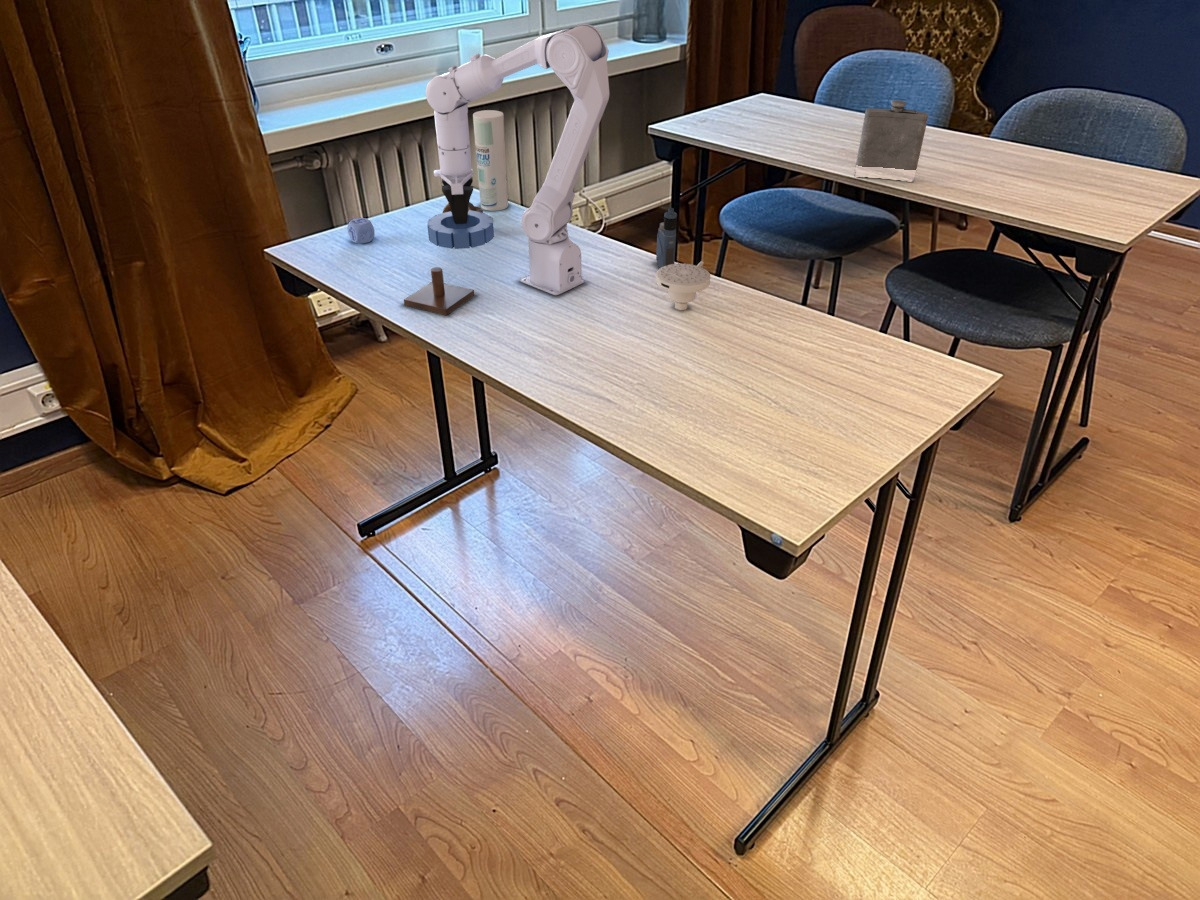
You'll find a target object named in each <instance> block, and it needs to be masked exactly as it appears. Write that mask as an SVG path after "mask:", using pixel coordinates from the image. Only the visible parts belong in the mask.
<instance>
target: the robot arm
mask: <svg viewBox="0 0 1200 900" xmlns="http://www.w3.org/2000/svg"><path fill="white" fill-rule="evenodd" d="M609 52H610V50H609V49H608V46H607V44H606V41H605V39H604V38H603V36H602V34H601V31H599V30H598V29H597V27H595V26H594V25H593V24H589V23H581V24H578V25H576V26H575V27H573V28H571V29H570V28H565V29H561V30H558V31H554V32H551V33H548V34H544V35H541V36H539V37H537V38H535V39H533V40H530V41H528V42H526V43H525V44H522V45H521V46H518V47H517V48H515V49H512V50H510V51H509V52H507V53H505V54H503V55H500V56H499V57H497V58H495V57H494V56H493V57H492V56H491V55H488V54H483V55H481V54H480V53H476V54H474V55H472V56H470V57H469V61H468V62H466V63H463V64H462V65H460V66H458V67H457V65H453V66H451V67H449V68H448V72H446V73H443V74H441V75H436V76H434V77H433V78H432V79H431V80H429V81H428V83H427V84H426V87H425V97H426V101H427V103H428V105H429V106H430V107H431V109H432V110H433V113H434V114H433V116H434V125H435V133H436V143H437V153H438V163H439V169H433V177H435V178H440V179H441V183H442V185H441V192H442V195H444V198H445V199H446V201H447V204H448V203H449V205H450V208H451V212H452V215H453V219H454V222H455V224H466V223H467V217H468V205H469V202H470V200H471V198H472V194H473V193H474V192H473V191H474V186H473V182H474V180H473V176H474V169H473V164H472V153H471V152H472V151H471V140H470V130H469V127H470V126H469V117H468V115H469V114H468V113H469V106H468V105H469V103H472V102H474V101H476V100H479V99H481V98H484V97H485V96H488V95H490V94H492V93H494V92H497V91H499V90H500V89H501V88H502V85H503V82H504V78H506V77H509V76H511V75H513V74H517V73H518V72H521V71H523V70H526V69H528V68H531V67H532V66H536V65H538V66H539V67H540V68H542V69H544V70H548V69H550V68H551V70H552V71H553V72H554V74H555V75H556V76H557V77H558V78H559V79H560V81H561V83H563V84H564V86H566V87H567V89H568V90H569V92H570V94H571V96H572V97H573V103H572V106H571V108H570V111H569V114H568V117H567V119H566V122H565V125H564V127H563V130H562V132H561V135H560V139H559V141H558V143H557V146H556V149H555V151H554V154H553V157H552V160H551V163H550V165H549V169H548V171H547V174H546V176H545V180H544V183H543V184H542V186H541V187H540V188H539V190H538V192H537V193H536V195H535V196H534V198H533V200H532V203H531V205H530V206H529V207H528V208H527V209H526V210H524V212H523V213H522V215H521V219H520V224H521V228H522V231H523V233H524V235H526V237H527V241H528V262H529V274H528V275H525V276H524V277H521V278H520V279H519V281H520V282H521V283H523V284H525V285H528V286H529V287H533V288H535V289H538V290H540V291H543V292H545V293H548V294H550V295H553V296H560V295H562V294H563V293H565V292H567V291H569V290H572V289H574V288H576V287H578V286H580V285H582V284H584V283H585V279H583V278H582V250H581V248H580V247H579V245H578V244H577V243H575V242H573V241H572V240H571V239H570V236H569V232H568V231H569V230H568V224H569V223H570V221H571V220H572V218H573V214H574V209H573V202H574V199H575V197H576V194H575V193H574V191H573V190H574V188H575V185H576V183H577V182H578V178H579V176H580V173H581V171H582V168H583V165H584V163H585V160H586V158H587V155H588V153H589V150H590V148H591V146H592V142H593V140H594V138H595V134H596V133H597V130H598V128H599V125H600V122H601V120H602V118H603V115H604V112H605V110H606V108H607V105H608V102H609V99H610V83H609V72H608V57H609Z"/></svg>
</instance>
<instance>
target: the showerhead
mask: <svg viewBox="0 0 1200 900" xmlns="http://www.w3.org/2000/svg"><path fill="white" fill-rule="evenodd" d="M704 264H705V262H704V261H702V260H700V262H698V264H697V265H696V264H692V263H691V264H690V263H679V262H677V263H674V264H671V265H667V266H664V267H662V268H660V267H659V269H657V270H656V271H655V282H656V284H657V285H658V287H660V288H661V289H663V290H666V291H667V297H668V299H669V300H670V301H672V302H674V308H675V310H679V311H684V310H687V309H688V304H689V303H691V302H693V301H694V300H695V299H696V296H697V293H698V292H701V291H704V290H706V289H707V288H708V287H709V286H710V284H711V273H710V272H709V271H708V270H707V269H706V268H704V267H702V266H704Z"/></svg>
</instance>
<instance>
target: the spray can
mask: <svg viewBox="0 0 1200 900" xmlns="http://www.w3.org/2000/svg"><path fill="white" fill-rule="evenodd" d="M472 121H473V122H472V123H473V133H474V143H475V155H476V168H477V176H478V177H477V179H478V191H479V192H478V193H479V200H480V203H479V204H480V208H481V209H482V210H484V211H493V212H494V211H503V210H505V209H507V208H508V207H509V192H508V175H507V173H508V171H507V155H506V135H505V134H506V132H505V117H504V112H503V111H501V110H500V111H499V110H493V109H492V110H491V109H487V110H485V109H483V110H479V111H475V112H474V113H473V114H472Z"/></svg>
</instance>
